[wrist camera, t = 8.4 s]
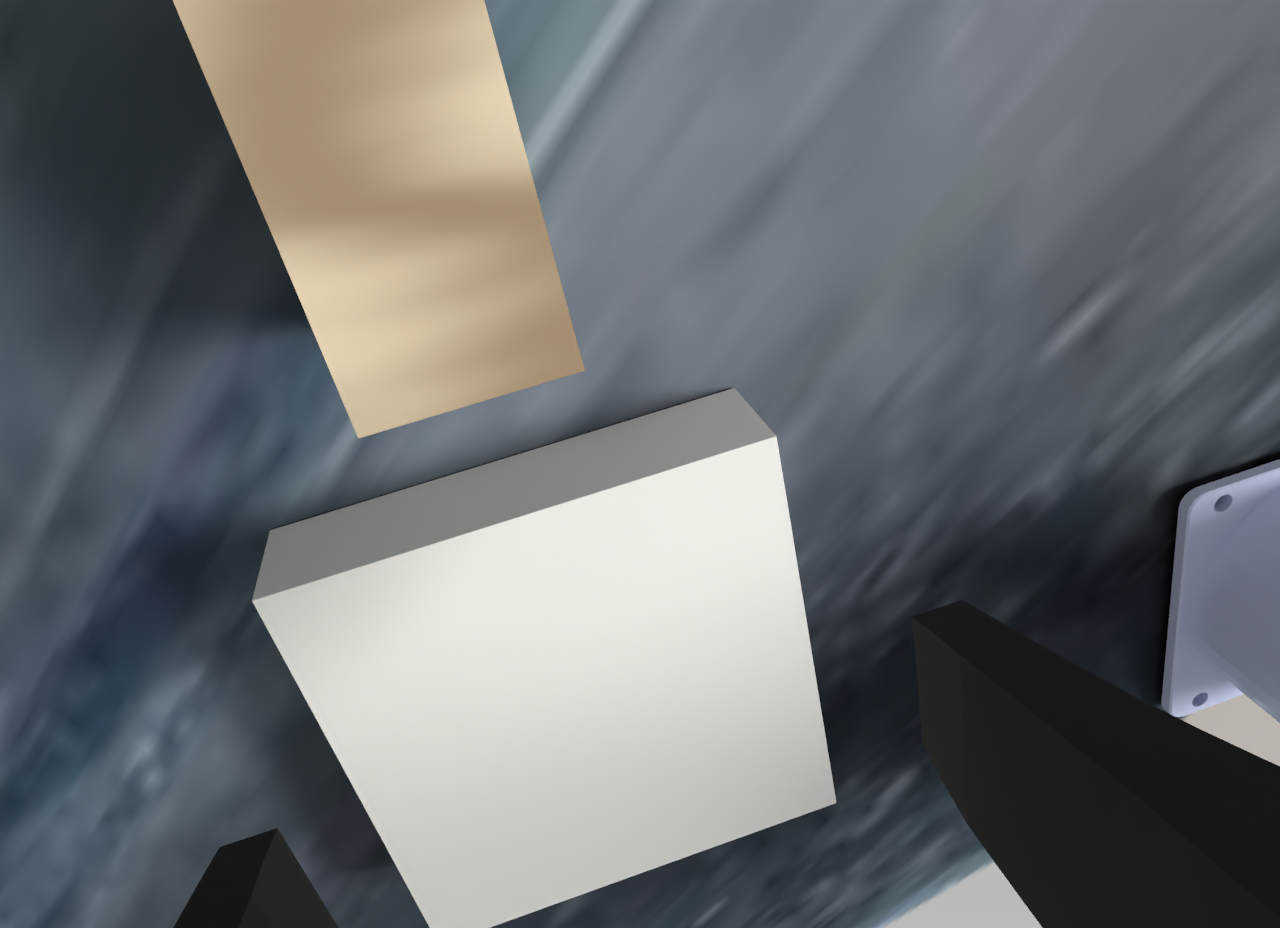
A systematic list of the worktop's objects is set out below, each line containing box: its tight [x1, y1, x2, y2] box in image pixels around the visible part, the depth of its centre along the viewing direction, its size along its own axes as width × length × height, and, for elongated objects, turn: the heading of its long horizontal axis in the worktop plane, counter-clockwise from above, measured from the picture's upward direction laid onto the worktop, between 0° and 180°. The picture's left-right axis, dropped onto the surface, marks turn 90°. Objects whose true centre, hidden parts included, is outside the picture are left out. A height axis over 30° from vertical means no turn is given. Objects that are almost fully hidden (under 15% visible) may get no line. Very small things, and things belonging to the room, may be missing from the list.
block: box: [173, 0, 585, 438], centre depth 13 cm, size 3×6×6 cm
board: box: [252, 388, 836, 928], centre depth 20 cm, size 10×10×2 cm
